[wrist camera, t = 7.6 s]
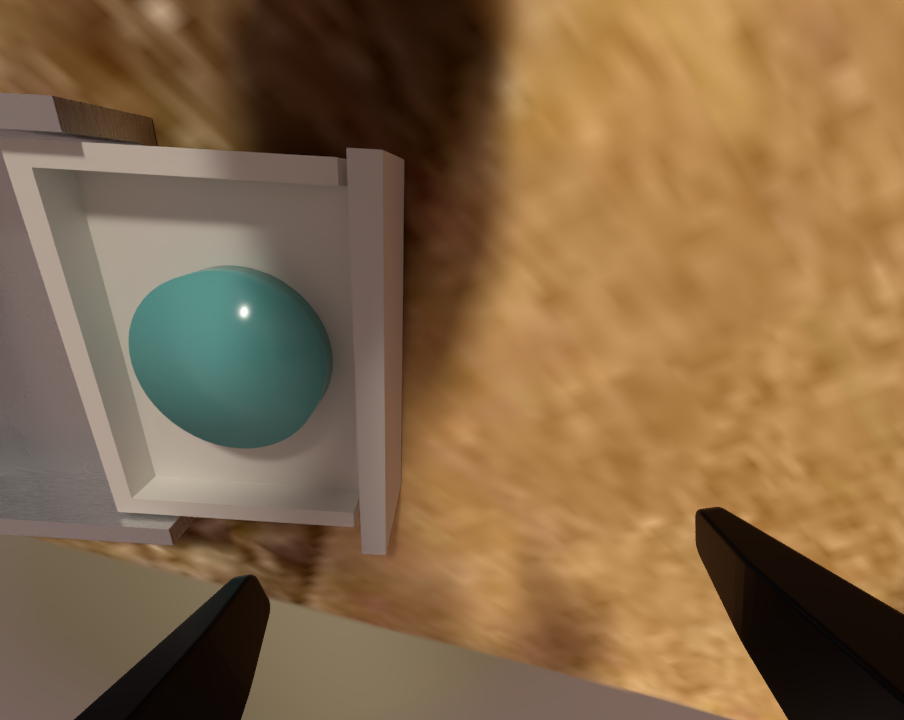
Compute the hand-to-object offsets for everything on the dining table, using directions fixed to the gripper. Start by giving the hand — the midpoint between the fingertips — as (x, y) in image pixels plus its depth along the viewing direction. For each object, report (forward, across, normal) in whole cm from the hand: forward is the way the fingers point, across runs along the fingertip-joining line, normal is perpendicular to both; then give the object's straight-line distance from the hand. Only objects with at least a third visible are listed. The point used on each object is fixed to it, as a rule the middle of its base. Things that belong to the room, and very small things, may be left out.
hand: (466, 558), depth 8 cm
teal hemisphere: (+9, +8, -3) cm, 13 cm away
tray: (+11, +8, -3) cm, 14 cm away
